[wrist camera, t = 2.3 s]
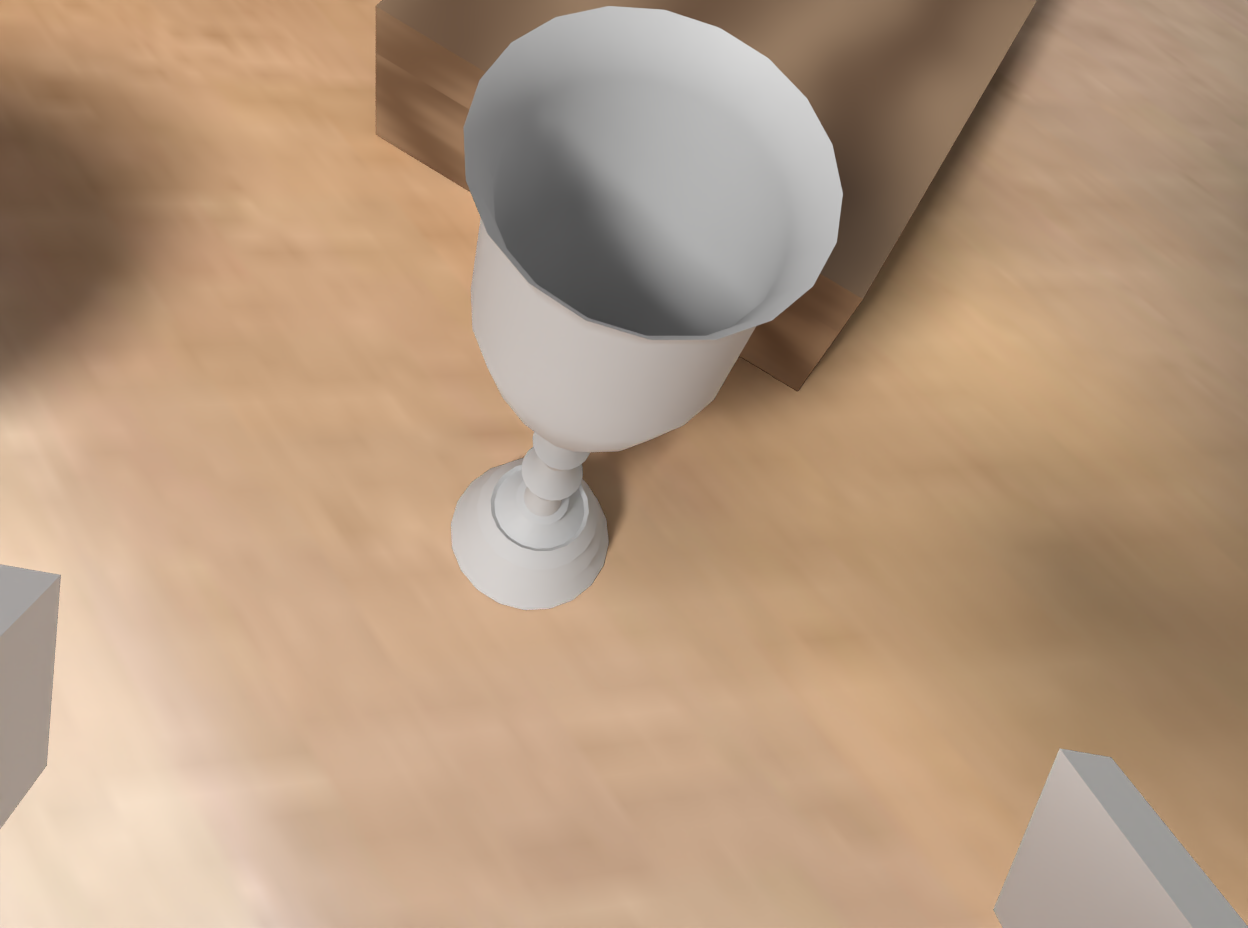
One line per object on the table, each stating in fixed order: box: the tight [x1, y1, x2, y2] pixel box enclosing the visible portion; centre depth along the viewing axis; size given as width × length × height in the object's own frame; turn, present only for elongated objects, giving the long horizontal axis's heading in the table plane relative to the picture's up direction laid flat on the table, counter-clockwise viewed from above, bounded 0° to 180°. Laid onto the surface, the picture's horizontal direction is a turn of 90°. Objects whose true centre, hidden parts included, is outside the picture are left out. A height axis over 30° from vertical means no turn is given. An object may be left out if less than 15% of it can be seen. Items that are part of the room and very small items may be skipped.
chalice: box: [451, 6, 843, 610], centre depth 27 cm, size 7×7×18 cm
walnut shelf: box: [376, 0, 1037, 391], centre depth 43 cm, size 18×22×6 cm
